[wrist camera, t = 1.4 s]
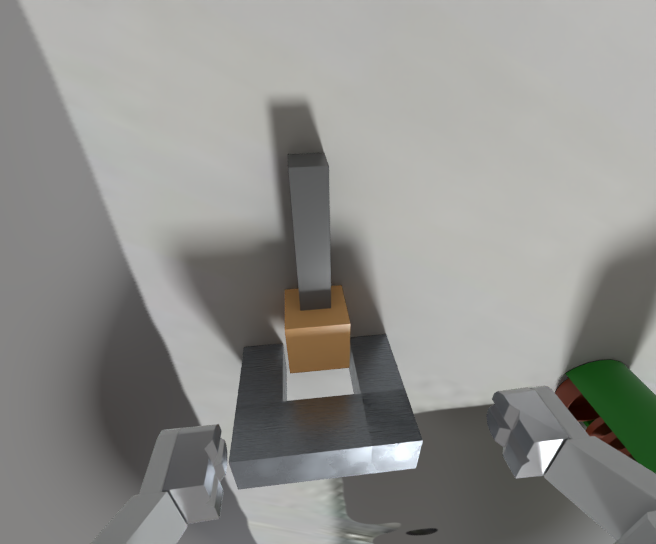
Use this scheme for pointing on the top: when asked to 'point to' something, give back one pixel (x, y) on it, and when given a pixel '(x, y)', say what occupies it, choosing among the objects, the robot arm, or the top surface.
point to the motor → (613, 408)
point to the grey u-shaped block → (321, 421)
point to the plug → (314, 275)
